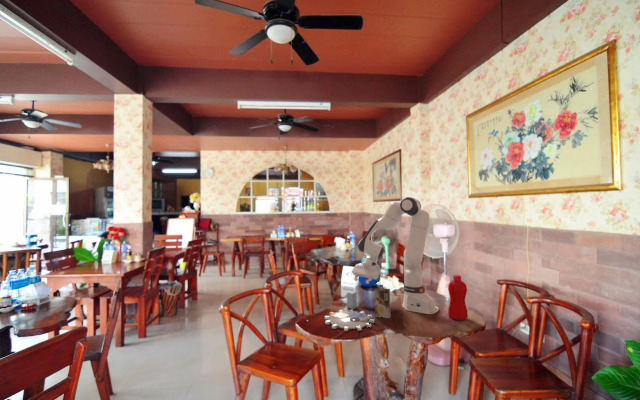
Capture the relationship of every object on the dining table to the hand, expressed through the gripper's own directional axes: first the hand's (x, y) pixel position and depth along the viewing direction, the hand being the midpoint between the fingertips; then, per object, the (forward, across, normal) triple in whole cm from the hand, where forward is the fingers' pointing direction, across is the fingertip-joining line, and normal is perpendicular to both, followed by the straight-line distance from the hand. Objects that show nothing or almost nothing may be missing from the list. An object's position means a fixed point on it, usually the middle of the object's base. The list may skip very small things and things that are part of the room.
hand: (360, 281), depth 208 cm
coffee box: (+18, +23, +3) cm, 30 cm away
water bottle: (0, +58, +20) cm, 62 cm away
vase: (-18, -20, +39) cm, 47 cm away
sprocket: (+32, +12, -11) cm, 36 cm away
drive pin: (+18, 0, +3) cm, 18 cm away
